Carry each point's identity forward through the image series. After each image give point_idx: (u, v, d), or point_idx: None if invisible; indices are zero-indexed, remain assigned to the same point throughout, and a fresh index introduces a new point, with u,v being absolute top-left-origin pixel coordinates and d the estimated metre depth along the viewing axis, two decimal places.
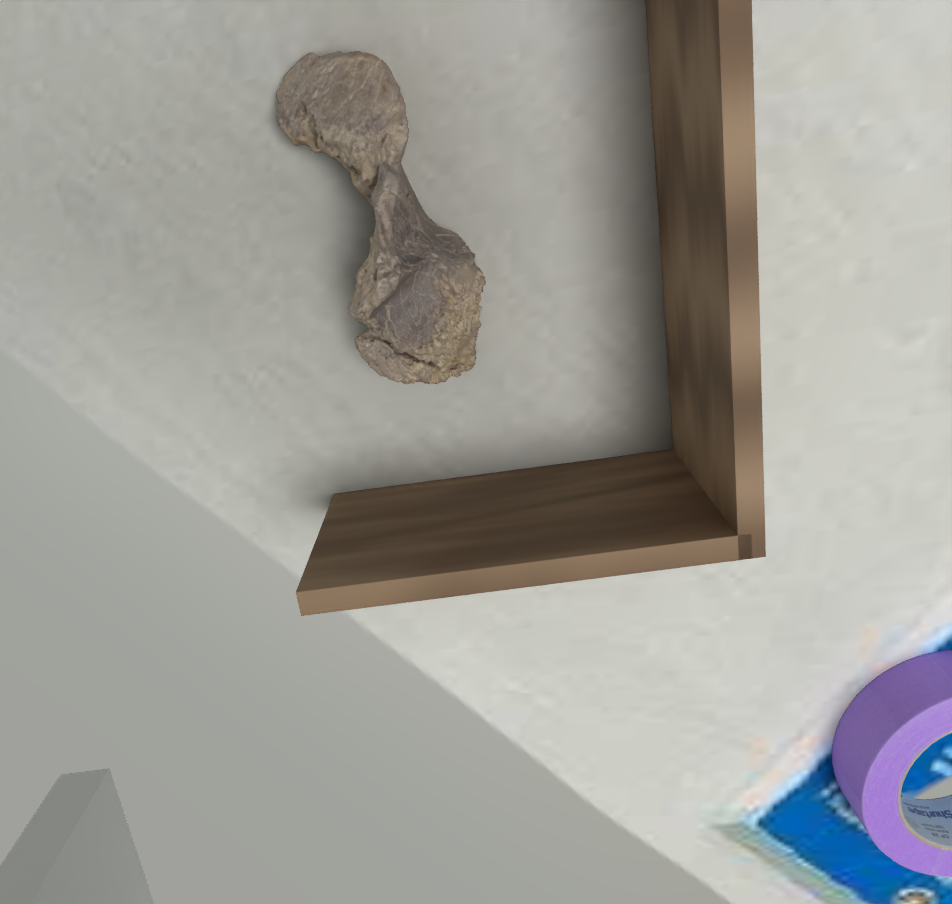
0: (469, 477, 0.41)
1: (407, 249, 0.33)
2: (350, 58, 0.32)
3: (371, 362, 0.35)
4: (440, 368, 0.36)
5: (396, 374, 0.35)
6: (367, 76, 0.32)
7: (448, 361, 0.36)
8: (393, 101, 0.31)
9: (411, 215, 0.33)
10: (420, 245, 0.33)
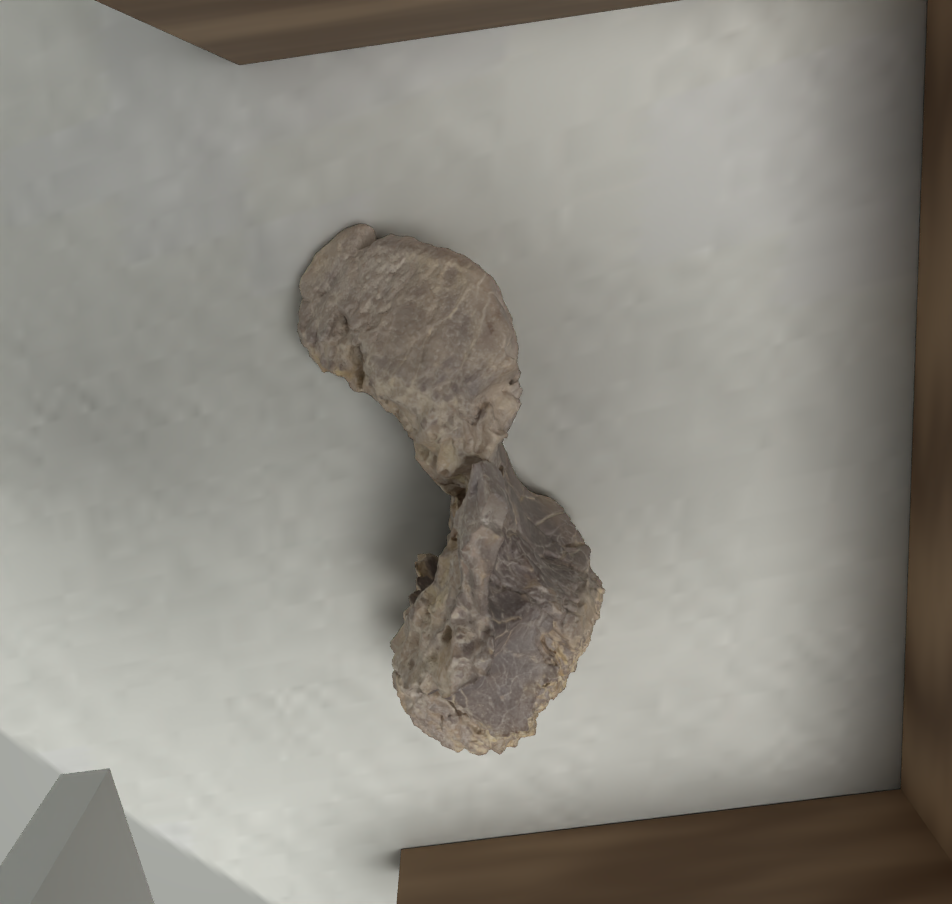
0: (601, 829, 0.28)
1: (499, 579, 0.20)
2: (432, 259, 0.19)
3: (417, 719, 0.22)
4: None
5: (455, 742, 0.22)
6: (461, 300, 0.18)
7: (536, 716, 0.23)
8: (504, 351, 0.18)
9: (506, 512, 0.20)
10: (519, 568, 0.20)
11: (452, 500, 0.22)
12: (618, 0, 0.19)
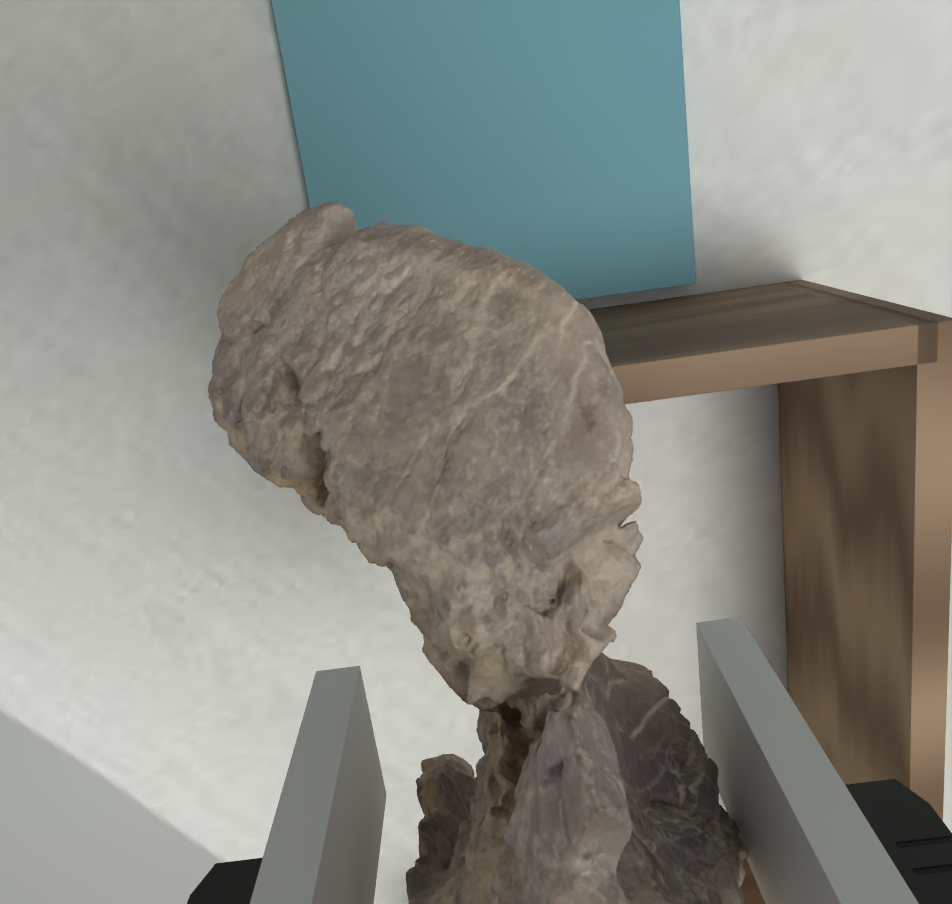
0: None
1: None
2: (464, 270, 0.10)
3: None
4: None
5: None
6: (525, 356, 0.09)
7: None
8: (617, 469, 0.09)
9: None
10: (618, 859, 0.11)
11: None
12: None
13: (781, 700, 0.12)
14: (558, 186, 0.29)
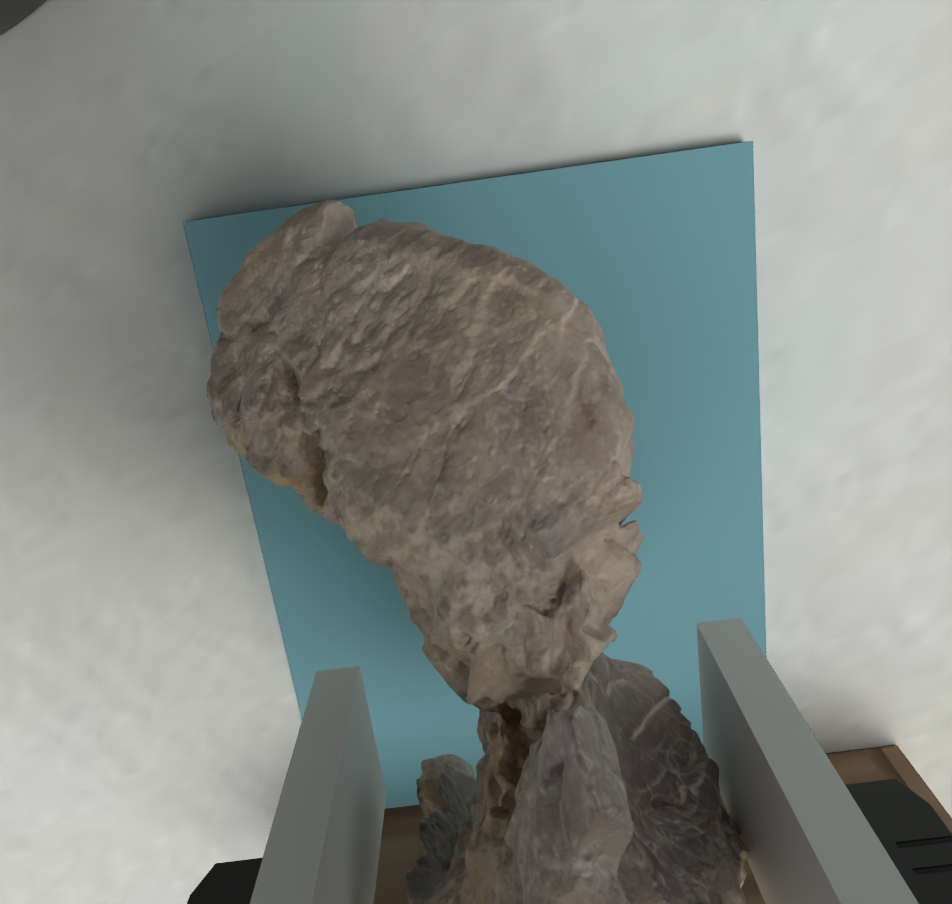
0: None
1: None
2: (464, 267, 0.09)
3: None
4: None
5: None
6: (525, 354, 0.09)
7: None
8: (618, 467, 0.08)
9: None
10: None
11: None
12: None
13: (781, 700, 0.12)
14: None
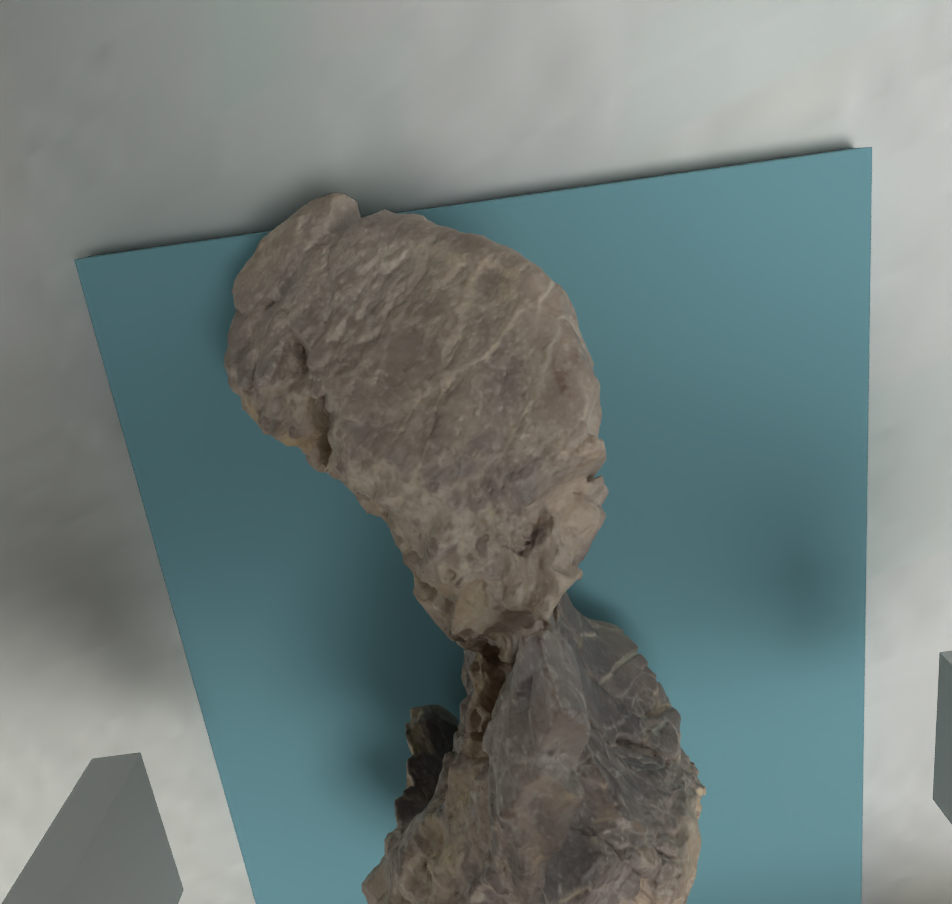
0: None
1: None
2: (455, 253, 0.11)
3: None
4: None
5: None
6: (507, 328, 0.10)
7: None
8: (585, 427, 0.10)
9: None
10: (584, 783, 0.12)
11: None
12: None
13: None
14: None
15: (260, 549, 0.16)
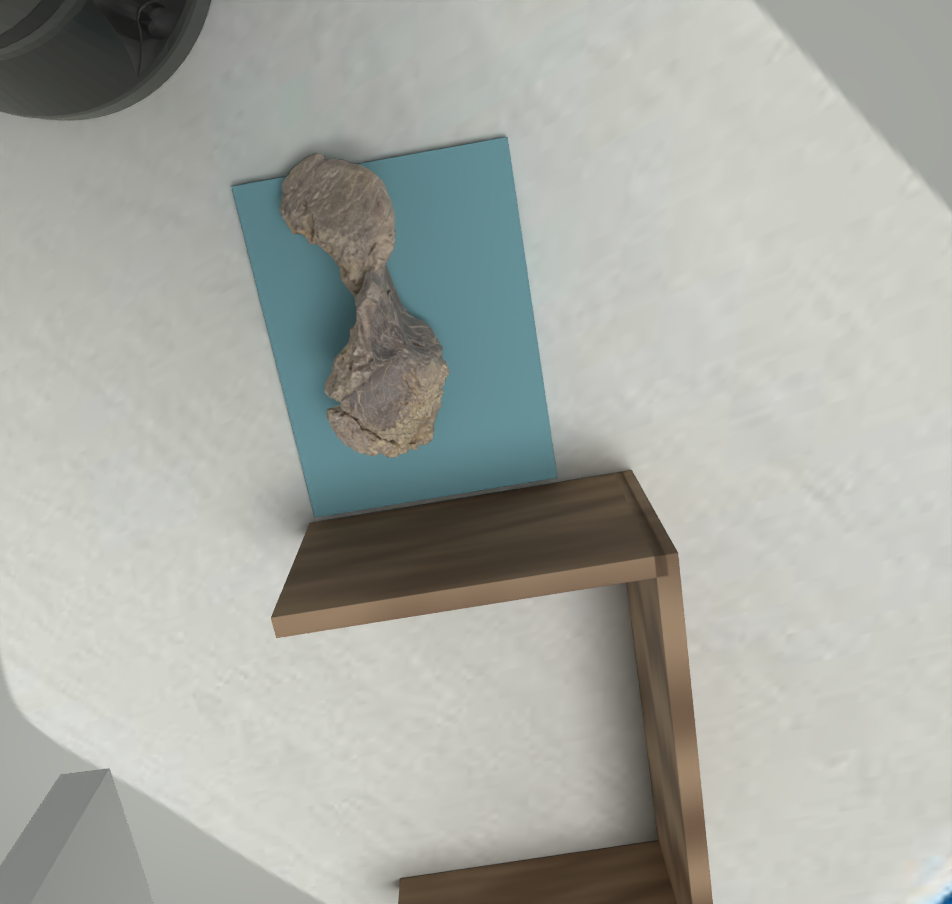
0: (503, 865, 0.53)
1: (382, 343, 0.37)
2: (351, 170, 0.36)
3: (339, 433, 0.39)
4: (400, 445, 0.40)
5: (360, 447, 0.39)
6: (364, 190, 0.36)
7: (408, 439, 0.40)
8: (384, 216, 0.35)
9: (389, 312, 0.38)
10: (394, 340, 0.37)
11: None
12: None
13: None
14: (460, 421, 0.43)
15: (299, 297, 0.41)
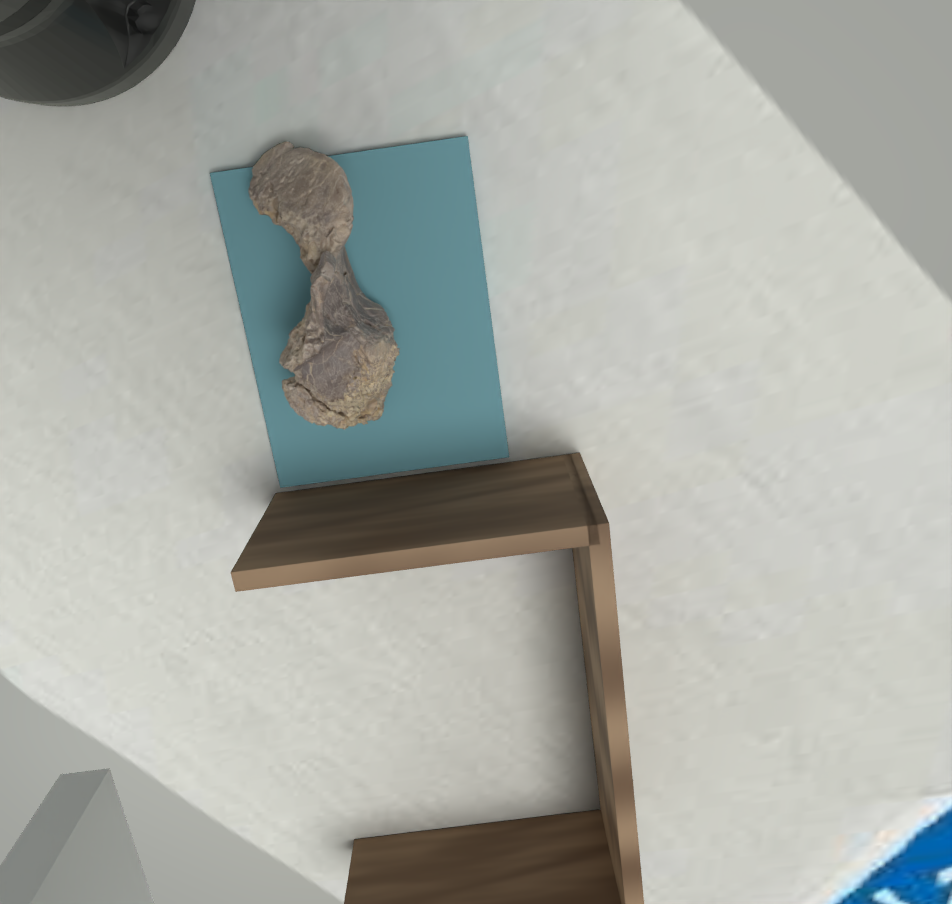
0: (453, 829, 0.56)
1: (335, 320, 0.40)
2: (316, 158, 0.39)
3: (292, 402, 0.42)
4: (349, 417, 0.43)
5: (310, 416, 0.42)
6: (326, 177, 0.39)
7: (356, 413, 0.43)
8: (343, 202, 0.38)
9: (344, 292, 0.40)
10: (347, 318, 0.40)
11: None
12: None
13: None
14: (419, 401, 0.46)
15: (270, 278, 0.44)
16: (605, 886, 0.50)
